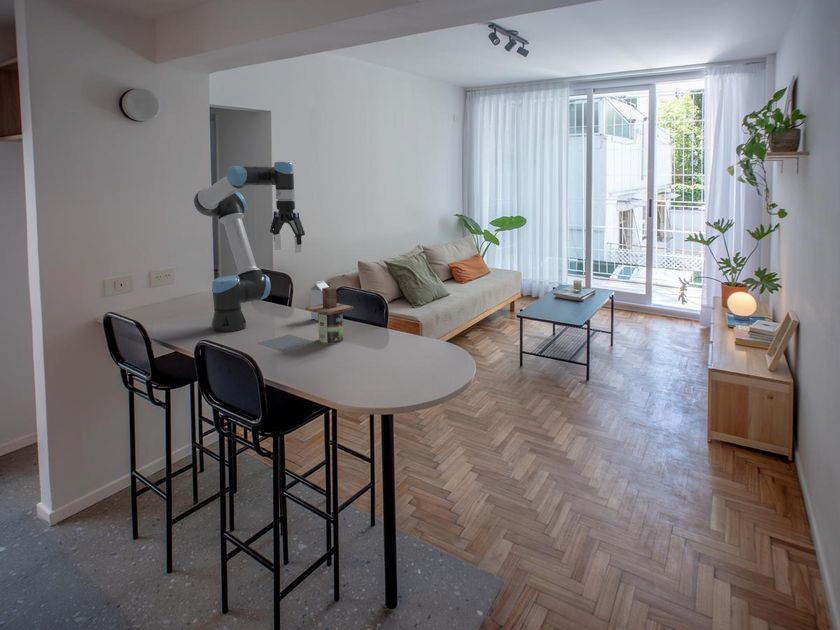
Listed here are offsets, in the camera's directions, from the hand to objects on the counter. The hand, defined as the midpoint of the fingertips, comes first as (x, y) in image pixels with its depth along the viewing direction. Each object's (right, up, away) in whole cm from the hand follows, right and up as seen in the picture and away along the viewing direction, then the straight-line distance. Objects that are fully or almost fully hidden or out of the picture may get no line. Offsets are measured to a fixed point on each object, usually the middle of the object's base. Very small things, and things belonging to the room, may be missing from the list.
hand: (287, 251), depth 233 cm
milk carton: (+8, -29, +35) cm, 46 cm away
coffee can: (+19, -39, -2) cm, 43 cm away
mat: (+1, -39, -5) cm, 40 cm away
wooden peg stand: (+19, -25, -6) cm, 32 cm away
